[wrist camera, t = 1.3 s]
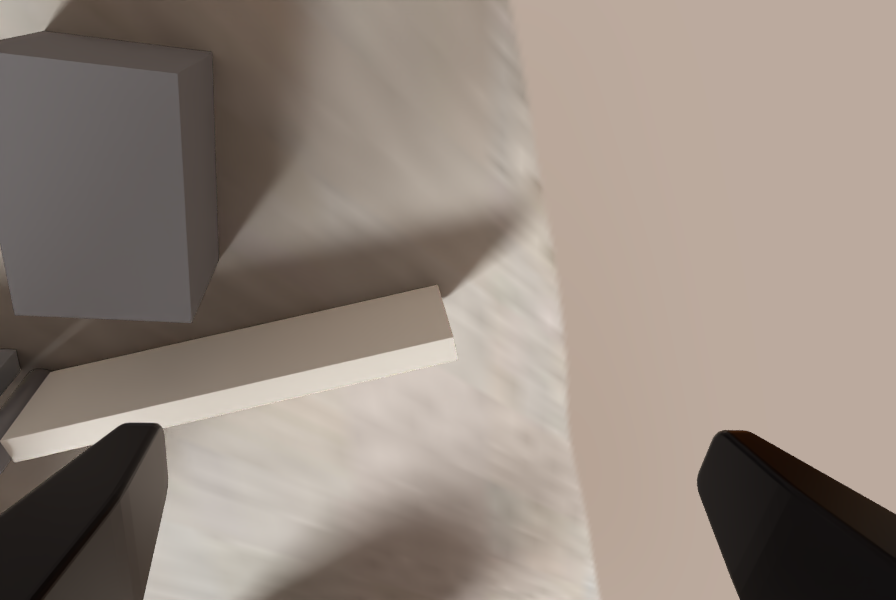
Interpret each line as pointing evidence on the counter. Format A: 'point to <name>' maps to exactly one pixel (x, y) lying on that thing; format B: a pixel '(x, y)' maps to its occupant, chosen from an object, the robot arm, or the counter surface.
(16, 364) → the grey angular u-shape
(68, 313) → the tilted gray brick
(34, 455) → the cover
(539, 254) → the counter surface
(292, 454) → the counter surface
